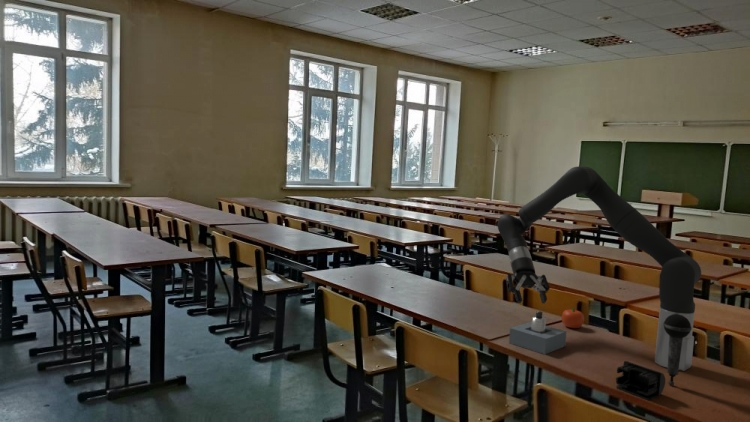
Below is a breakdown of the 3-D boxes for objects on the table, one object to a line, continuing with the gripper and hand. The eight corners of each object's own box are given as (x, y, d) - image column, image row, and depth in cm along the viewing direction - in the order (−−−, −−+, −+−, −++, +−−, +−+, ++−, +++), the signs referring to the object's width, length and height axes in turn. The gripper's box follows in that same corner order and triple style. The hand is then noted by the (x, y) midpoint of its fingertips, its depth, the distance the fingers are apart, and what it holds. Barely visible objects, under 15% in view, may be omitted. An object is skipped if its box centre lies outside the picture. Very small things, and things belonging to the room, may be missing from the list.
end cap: (664, 396, 144) (666, 371, 143) (650, 402, 139) (653, 376, 139) (627, 382, 152) (630, 358, 151) (613, 387, 147) (615, 363, 147)
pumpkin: (578, 331, 197) (580, 311, 196) (557, 326, 202) (559, 307, 202) (586, 327, 203) (588, 308, 202) (565, 322, 208) (567, 303, 207)
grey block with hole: (565, 346, 180) (566, 331, 179) (544, 354, 171) (545, 338, 171) (530, 335, 189) (531, 321, 189) (509, 342, 180) (510, 328, 180)
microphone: (690, 391, 147) (698, 318, 145) (664, 389, 147) (672, 317, 146) (677, 381, 154) (684, 311, 152) (652, 379, 154) (659, 310, 152)
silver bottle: (546, 345, 180) (549, 312, 179) (539, 347, 177) (541, 314, 176) (534, 341, 183) (537, 309, 182) (527, 343, 180) (529, 311, 180)
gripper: (505, 255, 191) (516, 296, 180) (544, 256, 193) (556, 296, 183) (498, 267, 196) (508, 307, 186) (536, 268, 199) (548, 308, 188)
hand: (532, 302), depth 184 cm, fingers open, 8 cm apart
